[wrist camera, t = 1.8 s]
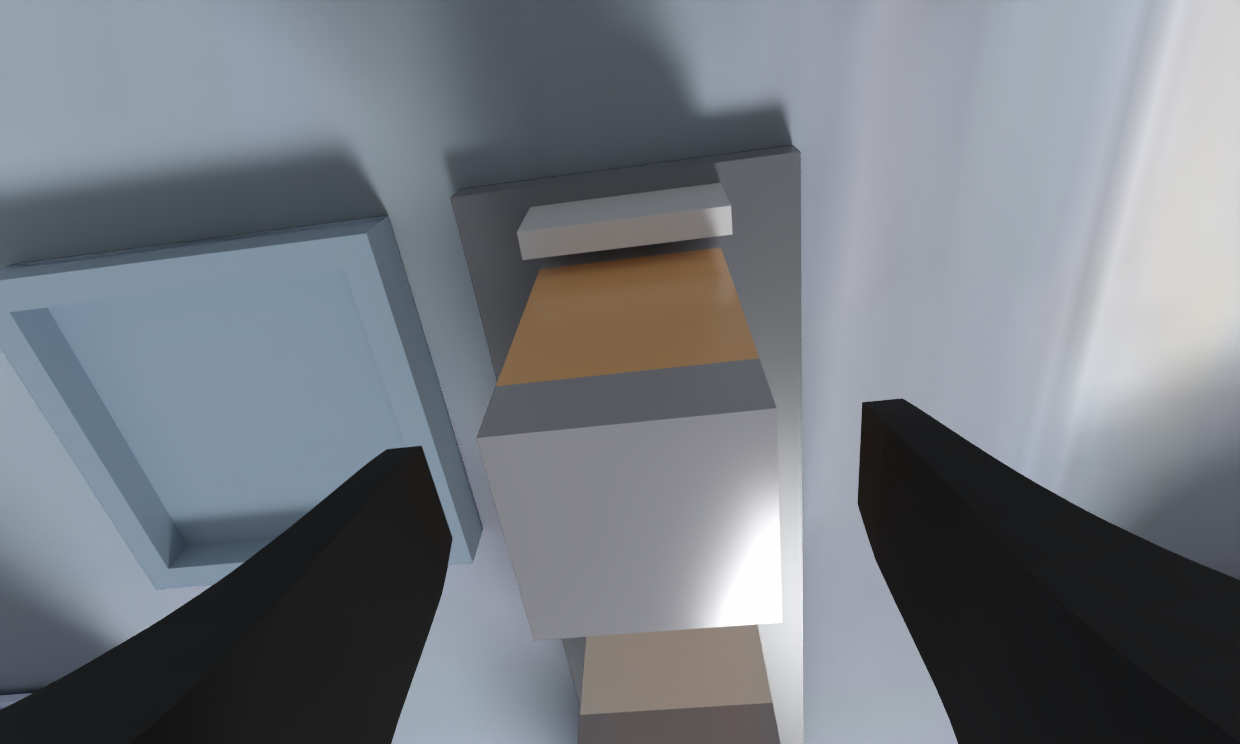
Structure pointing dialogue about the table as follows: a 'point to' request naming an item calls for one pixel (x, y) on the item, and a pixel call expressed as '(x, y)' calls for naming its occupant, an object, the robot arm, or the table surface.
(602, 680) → the block
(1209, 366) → the table surface
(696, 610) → the block
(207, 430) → the tray
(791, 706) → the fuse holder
